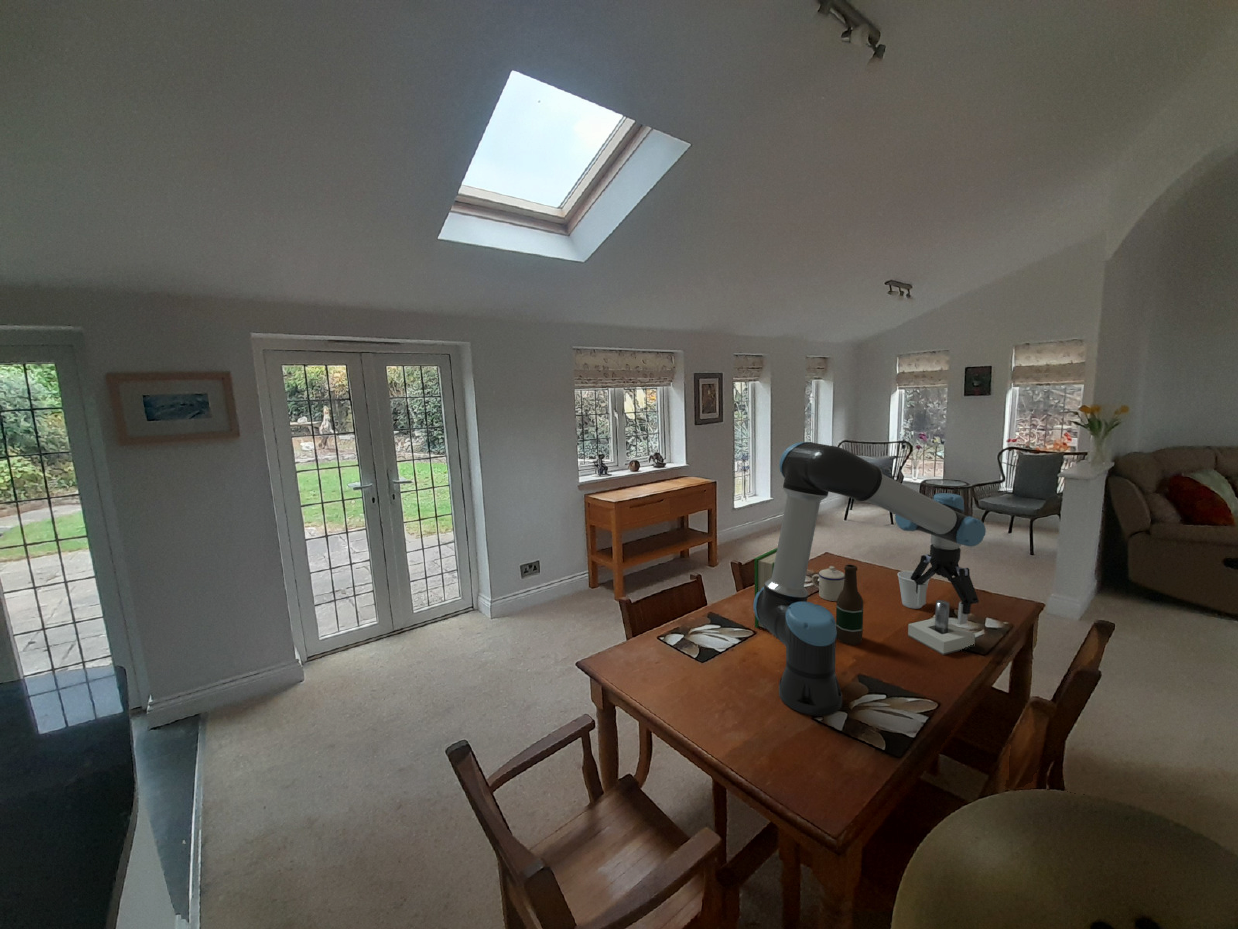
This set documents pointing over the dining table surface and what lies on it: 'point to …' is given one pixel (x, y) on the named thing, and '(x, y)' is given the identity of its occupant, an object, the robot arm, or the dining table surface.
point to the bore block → (941, 636)
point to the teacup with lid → (829, 583)
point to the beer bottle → (849, 610)
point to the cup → (908, 589)
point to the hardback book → (763, 573)
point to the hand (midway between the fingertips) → (940, 613)
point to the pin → (942, 616)
